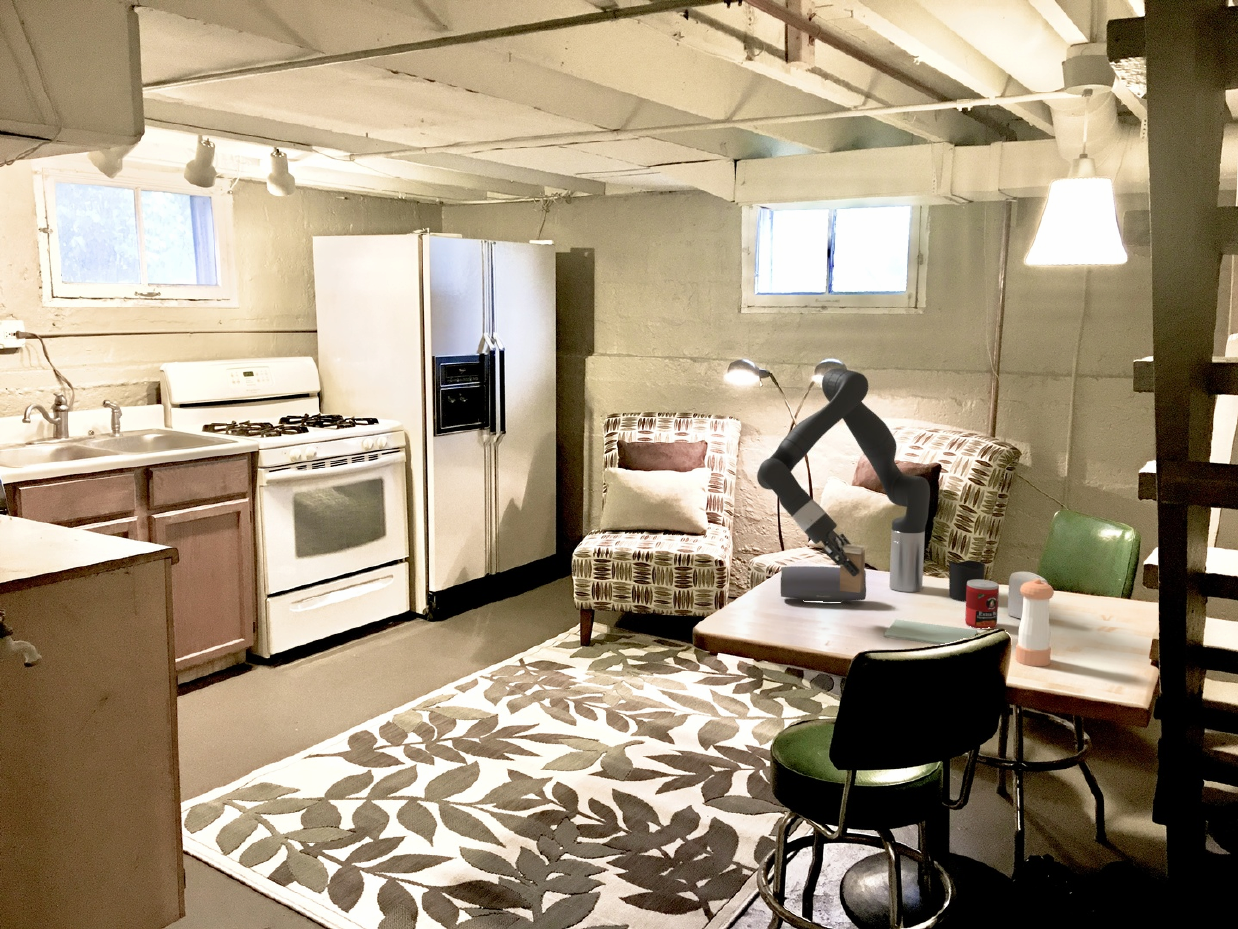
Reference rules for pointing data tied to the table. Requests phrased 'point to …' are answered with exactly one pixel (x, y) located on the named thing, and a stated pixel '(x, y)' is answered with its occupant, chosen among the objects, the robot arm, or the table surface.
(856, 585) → the walnut block
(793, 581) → the bluetooth speaker
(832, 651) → the table surface
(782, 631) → the table surface
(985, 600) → the canned food
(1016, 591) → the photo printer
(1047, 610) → the salt shaker
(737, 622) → the table surface
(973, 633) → the rubber mat
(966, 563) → the pen holder
